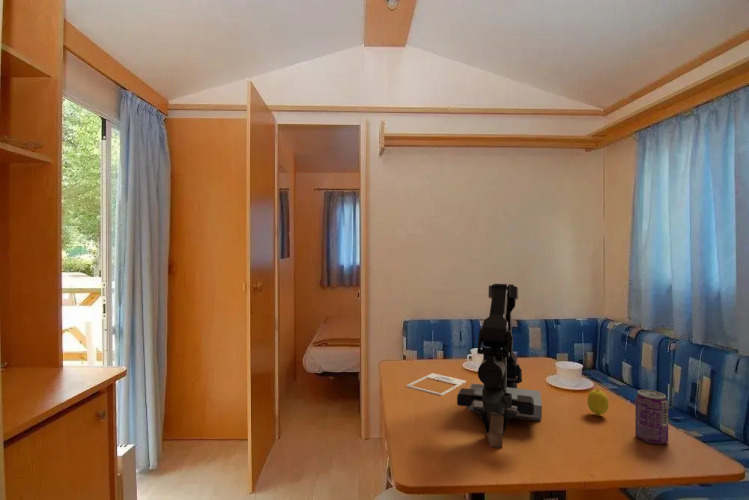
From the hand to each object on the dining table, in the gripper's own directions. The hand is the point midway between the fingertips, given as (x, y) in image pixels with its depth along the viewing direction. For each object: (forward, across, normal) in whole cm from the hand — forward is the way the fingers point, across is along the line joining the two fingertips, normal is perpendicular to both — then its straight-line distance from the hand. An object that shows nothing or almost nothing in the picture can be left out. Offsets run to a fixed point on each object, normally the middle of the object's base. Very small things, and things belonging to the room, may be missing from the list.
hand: (494, 433), depth 105 cm
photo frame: (+3, -23, +39) cm, 45 cm away
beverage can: (+2, +38, +16) cm, 41 cm away
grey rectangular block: (+2, +2, +15) cm, 16 cm away
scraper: (+2, -2, +6) cm, 7 cm away
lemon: (+2, +28, +28) cm, 39 cm away
